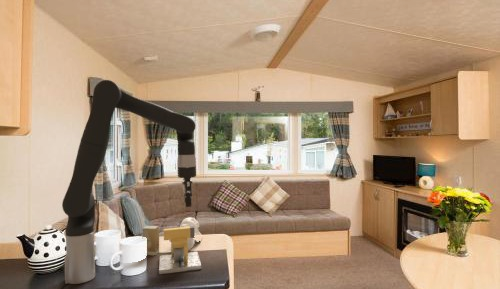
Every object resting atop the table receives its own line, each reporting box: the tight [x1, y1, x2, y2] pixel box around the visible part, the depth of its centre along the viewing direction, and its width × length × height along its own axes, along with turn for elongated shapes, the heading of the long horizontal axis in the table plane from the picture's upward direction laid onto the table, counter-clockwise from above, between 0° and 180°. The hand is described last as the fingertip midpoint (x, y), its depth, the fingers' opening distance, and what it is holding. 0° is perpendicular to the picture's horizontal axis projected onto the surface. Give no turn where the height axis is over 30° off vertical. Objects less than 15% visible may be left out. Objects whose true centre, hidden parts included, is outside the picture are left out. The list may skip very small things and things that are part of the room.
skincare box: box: [142, 225, 160, 256], centre depth 140 cm, size 6×4×12 cm
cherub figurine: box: [168, 216, 203, 251], centre depth 153 cm, size 13×12×20 cm
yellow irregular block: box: [163, 226, 195, 248], centre depth 128 cm, size 12×6×7 cm, turn 105°
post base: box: [158, 244, 202, 275], centre depth 128 cm, size 16×16×10 cm
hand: (187, 204), depth 129 cm, fingers open, 8 cm apart
